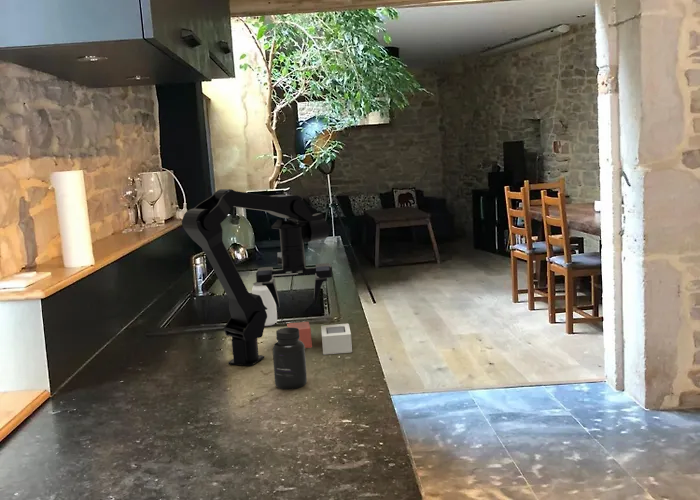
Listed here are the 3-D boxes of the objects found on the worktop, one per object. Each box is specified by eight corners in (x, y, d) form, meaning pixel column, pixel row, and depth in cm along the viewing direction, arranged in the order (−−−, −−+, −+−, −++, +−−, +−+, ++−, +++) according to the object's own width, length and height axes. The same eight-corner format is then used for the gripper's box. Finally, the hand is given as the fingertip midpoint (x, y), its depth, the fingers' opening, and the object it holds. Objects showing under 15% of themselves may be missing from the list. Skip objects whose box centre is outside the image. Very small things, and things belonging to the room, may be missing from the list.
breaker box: (352, 352, 166) (350, 334, 166) (323, 354, 166) (321, 336, 165) (349, 340, 176) (348, 323, 176) (322, 342, 176) (321, 325, 175)
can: (250, 325, 197) (246, 284, 195) (263, 320, 203) (259, 280, 201) (269, 327, 194) (265, 285, 192) (281, 321, 200) (278, 280, 198)
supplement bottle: (278, 392, 143) (273, 336, 141) (272, 382, 149) (268, 328, 147) (310, 387, 145) (306, 331, 143) (303, 377, 151) (299, 324, 149)
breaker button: (345, 344, 169) (344, 332, 168) (328, 345, 168) (327, 333, 168) (344, 338, 174) (343, 326, 173) (328, 339, 173) (327, 328, 173)
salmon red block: (312, 347, 173) (310, 328, 172) (290, 350, 172) (288, 330, 171) (309, 340, 180) (308, 321, 179) (288, 342, 179) (287, 323, 178)
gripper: (328, 238, 180) (332, 296, 183) (257, 243, 179) (261, 301, 182) (330, 244, 169) (334, 306, 172) (253, 249, 168) (258, 311, 171)
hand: (296, 306), depth 174 cm, fingers open, 9 cm apart
